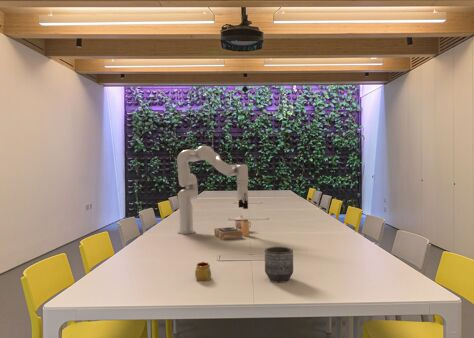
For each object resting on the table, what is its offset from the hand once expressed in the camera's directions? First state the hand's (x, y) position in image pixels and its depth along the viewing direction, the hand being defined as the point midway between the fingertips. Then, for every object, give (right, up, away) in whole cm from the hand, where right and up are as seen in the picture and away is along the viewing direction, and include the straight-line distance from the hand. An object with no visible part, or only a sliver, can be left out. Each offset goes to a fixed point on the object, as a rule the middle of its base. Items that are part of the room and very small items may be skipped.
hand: (243, 208), depth 267 cm
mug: (-19, -22, -93) cm, 98 cm away
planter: (+14, -21, -98) cm, 101 cm away
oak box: (-10, -19, -2) cm, 22 cm away
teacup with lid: (0, -19, +19) cm, 27 cm away
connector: (+1, -19, +2) cm, 19 cm away
